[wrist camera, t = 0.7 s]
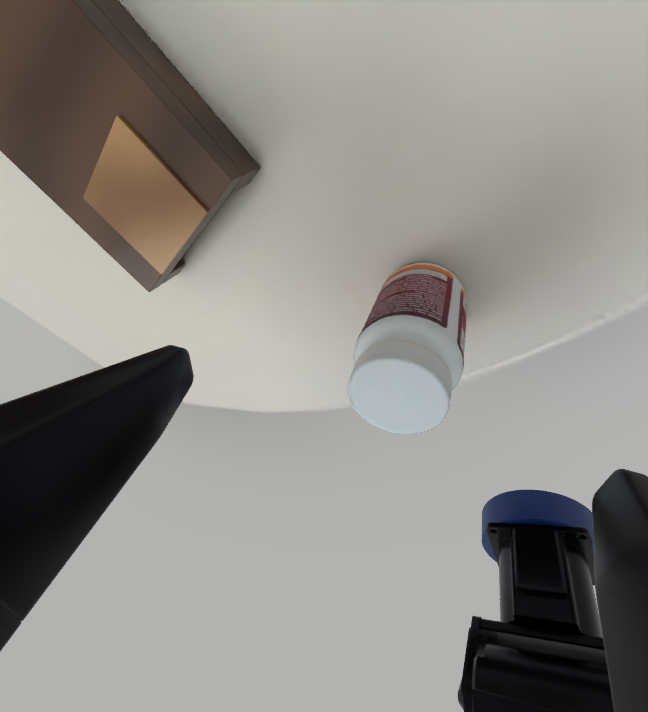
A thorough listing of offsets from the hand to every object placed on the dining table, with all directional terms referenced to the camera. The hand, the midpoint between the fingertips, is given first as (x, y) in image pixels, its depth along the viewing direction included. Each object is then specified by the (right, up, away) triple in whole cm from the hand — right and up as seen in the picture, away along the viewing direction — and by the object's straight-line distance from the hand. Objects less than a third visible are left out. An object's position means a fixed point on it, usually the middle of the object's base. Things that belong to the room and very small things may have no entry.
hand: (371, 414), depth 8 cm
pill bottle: (+5, +4, +13) cm, 15 cm away
